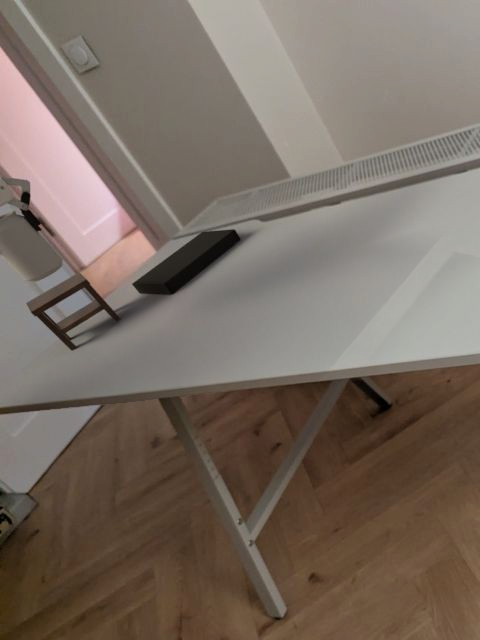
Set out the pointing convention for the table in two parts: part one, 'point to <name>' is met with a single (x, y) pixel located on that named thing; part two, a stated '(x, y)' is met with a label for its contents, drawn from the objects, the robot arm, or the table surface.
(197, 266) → the external hard drive
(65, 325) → the stand
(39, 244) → the can
